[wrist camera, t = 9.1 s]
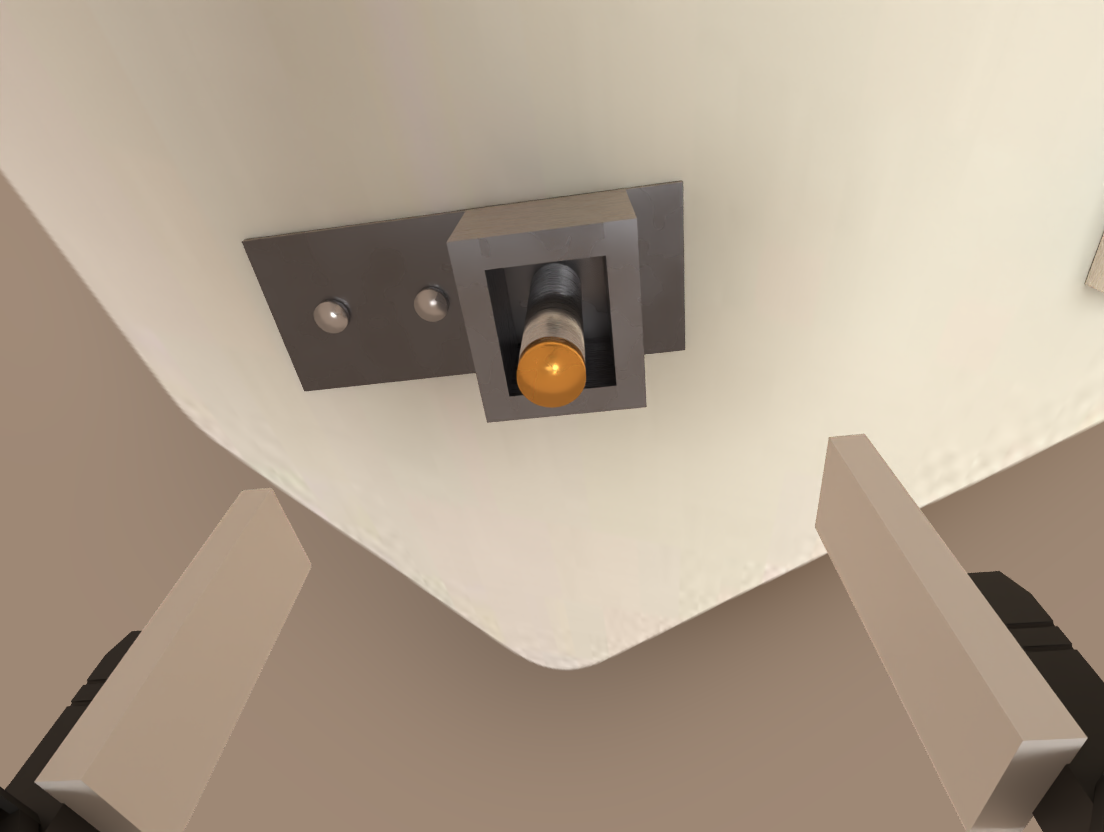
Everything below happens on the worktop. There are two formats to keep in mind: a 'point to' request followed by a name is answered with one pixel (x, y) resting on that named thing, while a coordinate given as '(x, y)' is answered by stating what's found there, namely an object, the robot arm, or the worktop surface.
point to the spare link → (1097, 269)
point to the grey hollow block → (540, 238)
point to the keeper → (456, 301)
